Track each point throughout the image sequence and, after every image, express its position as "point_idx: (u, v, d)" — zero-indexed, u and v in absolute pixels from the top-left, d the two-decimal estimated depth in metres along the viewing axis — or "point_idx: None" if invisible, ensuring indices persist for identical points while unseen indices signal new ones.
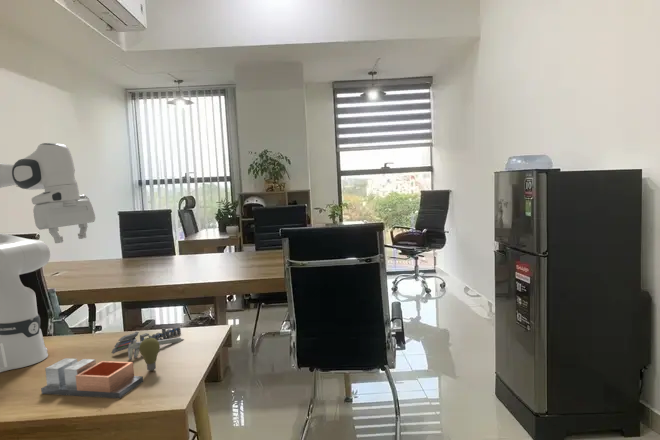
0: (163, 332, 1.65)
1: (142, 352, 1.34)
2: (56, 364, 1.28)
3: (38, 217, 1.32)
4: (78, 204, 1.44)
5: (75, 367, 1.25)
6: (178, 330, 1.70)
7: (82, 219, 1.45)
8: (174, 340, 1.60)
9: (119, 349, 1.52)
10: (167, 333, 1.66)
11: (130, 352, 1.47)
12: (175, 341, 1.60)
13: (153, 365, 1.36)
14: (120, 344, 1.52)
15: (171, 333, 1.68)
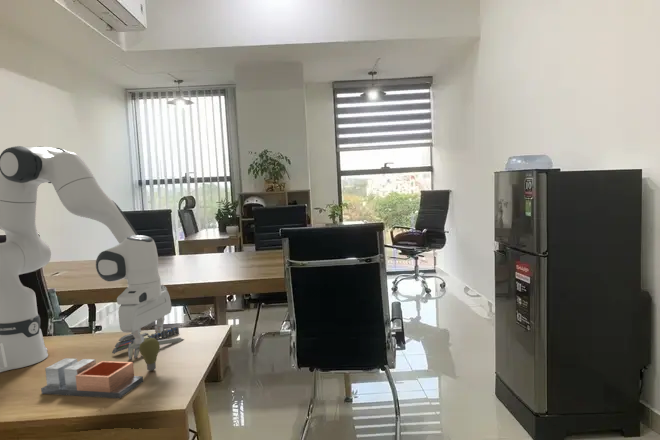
0: (162, 332, 1.66)
1: (142, 352, 1.34)
2: (56, 364, 1.28)
3: (124, 320, 1.25)
4: (158, 298, 1.38)
5: (75, 367, 1.25)
6: (176, 329, 1.70)
7: (161, 314, 1.39)
8: (174, 340, 1.60)
9: (120, 349, 1.52)
10: (166, 332, 1.67)
11: (130, 352, 1.47)
12: (175, 341, 1.60)
13: (153, 365, 1.36)
14: (120, 344, 1.52)
15: (169, 332, 1.68)
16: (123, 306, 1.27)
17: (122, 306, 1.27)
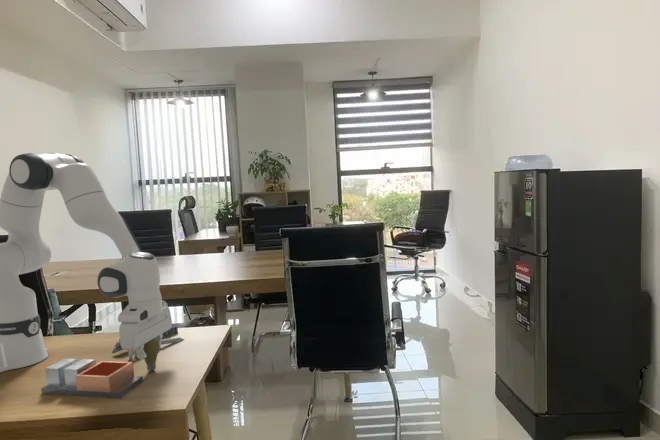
0: None
1: None
2: (56, 364, 1.28)
3: (125, 338, 1.26)
4: (159, 315, 1.38)
5: (75, 367, 1.25)
6: (175, 329, 1.71)
7: (161, 330, 1.39)
8: (174, 340, 1.60)
9: (120, 349, 1.52)
10: (165, 332, 1.67)
11: (130, 352, 1.47)
12: (175, 341, 1.60)
13: (153, 365, 1.36)
14: (120, 344, 1.52)
15: (168, 332, 1.69)
16: (124, 324, 1.27)
17: (123, 324, 1.27)
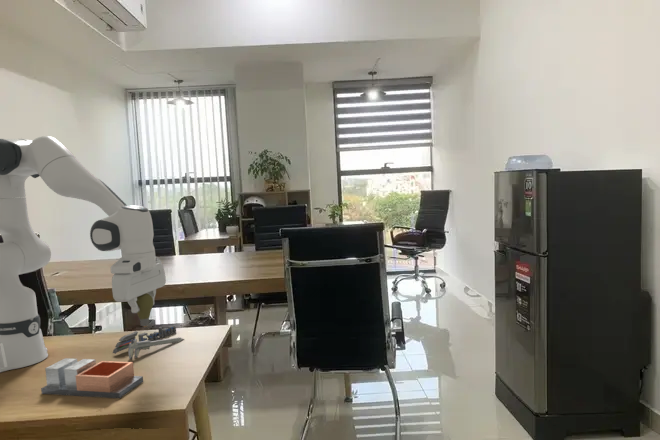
0: (160, 331, 1.66)
1: None
2: (56, 364, 1.28)
3: (117, 289, 1.24)
4: (153, 270, 1.37)
5: (75, 367, 1.25)
6: (173, 329, 1.71)
7: (155, 286, 1.37)
8: (174, 340, 1.60)
9: (120, 349, 1.52)
10: (163, 332, 1.68)
11: (130, 352, 1.47)
12: (175, 341, 1.60)
13: (147, 320, 1.34)
14: (121, 344, 1.52)
15: (167, 332, 1.69)
16: (117, 275, 1.25)
17: (116, 275, 1.26)
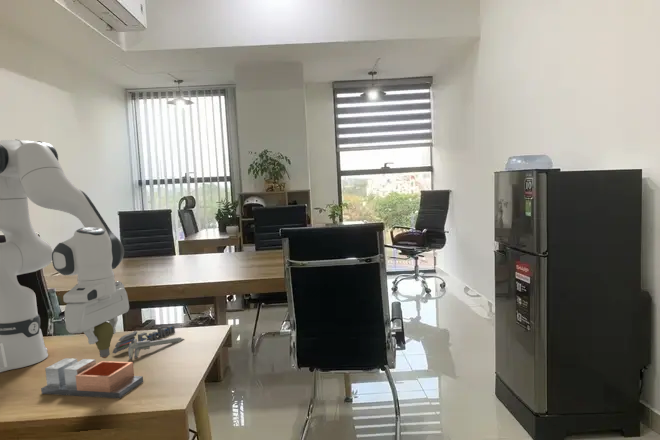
0: (159, 331, 1.67)
1: None
2: (56, 364, 1.28)
3: (70, 319, 1.15)
4: (113, 296, 1.27)
5: (75, 367, 1.25)
6: (172, 329, 1.72)
7: (115, 313, 1.28)
8: (174, 340, 1.60)
9: (120, 349, 1.52)
10: (162, 332, 1.68)
11: (130, 352, 1.47)
12: (175, 341, 1.60)
13: (106, 351, 1.25)
14: (121, 344, 1.52)
15: (166, 332, 1.70)
16: (70, 304, 1.16)
17: (69, 304, 1.16)
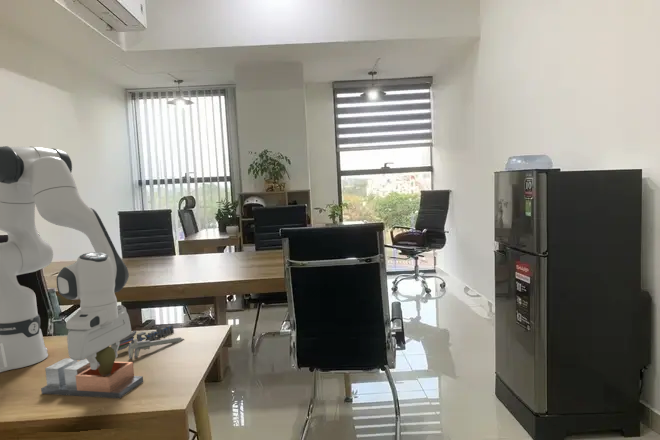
0: (158, 330, 1.67)
1: None
2: (56, 364, 1.28)
3: (73, 346, 1.15)
4: (115, 320, 1.28)
5: (75, 367, 1.25)
6: (171, 328, 1.72)
7: (118, 337, 1.29)
8: (174, 340, 1.60)
9: (119, 348, 1.52)
10: (161, 331, 1.68)
11: (131, 352, 1.47)
12: (175, 341, 1.60)
13: None
14: (120, 343, 1.52)
15: (165, 331, 1.70)
16: (73, 331, 1.17)
17: (72, 331, 1.17)
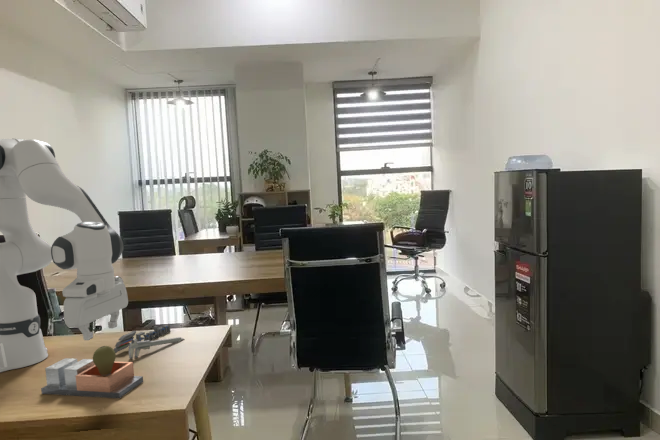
0: (155, 330, 1.68)
1: (95, 362, 1.23)
2: (56, 364, 1.28)
3: (69, 314, 1.15)
4: (112, 291, 1.27)
5: (75, 367, 1.25)
6: (168, 328, 1.73)
7: (114, 308, 1.28)
8: (175, 340, 1.60)
9: (120, 348, 1.52)
10: (159, 331, 1.69)
11: (131, 352, 1.47)
12: (176, 341, 1.61)
13: None
14: (121, 343, 1.53)
15: (162, 331, 1.71)
16: (69, 299, 1.16)
17: (68, 299, 1.16)
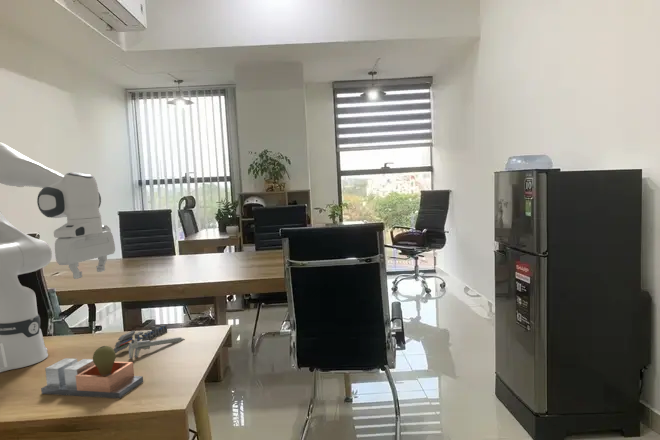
0: (153, 330, 1.68)
1: (95, 362, 1.23)
2: (56, 364, 1.28)
3: (60, 252, 1.27)
4: (100, 236, 1.39)
5: (75, 367, 1.25)
6: (165, 327, 1.74)
7: (102, 252, 1.40)
8: (175, 340, 1.60)
9: (120, 348, 1.52)
10: (156, 331, 1.70)
11: (131, 352, 1.47)
12: (176, 341, 1.61)
13: None
14: (121, 343, 1.53)
15: (159, 331, 1.71)
16: (60, 239, 1.28)
17: (59, 239, 1.28)
